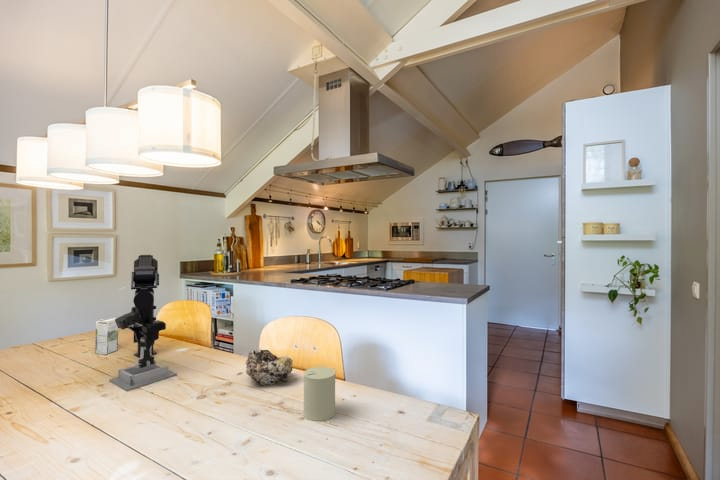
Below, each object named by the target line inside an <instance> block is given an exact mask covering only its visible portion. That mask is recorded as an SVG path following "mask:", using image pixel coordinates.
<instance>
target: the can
mask: <svg viewBox="0 0 720 480" xmlns="http://www.w3.org/2000/svg"><path fill="white" fill-rule="evenodd" d="M336 374H337V372H336V370H335V369H334V368H332V367H329V366H313V367H310V368H308V369H306V370H305V371H304V372H303V412H302V414H303V417H304V418H305V419H307V420H308V421H309V420H310V421H312V422H313V421H314V422H324V421H326V420H327V421H328V420H329V419H331V418H332V417H334V416H335V415H336V411H337V410H336Z"/></svg>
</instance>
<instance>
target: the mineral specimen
mask: <svg viewBox="0 0 720 480" xmlns="http://www.w3.org/2000/svg"><path fill="white" fill-rule="evenodd" d="M293 361H294V360H293V359H292V358H291V357H289V356H280V357H278V356H277V355H276V354H273V353H272V352H271V351H270V350H269V349H261V348H259V349H252V350H250V352H248V356H247V359H246V360H245V366H246V370H245V374H246V375H247V376H248V377H250V378H251V380H254V381H257V382H259V383H260V384H261V385H263V386H264V385H274V384H279V383H282V382H284V381H285V379H288V378H290V377H291V376H292V371H293V363H294V362H293Z"/></svg>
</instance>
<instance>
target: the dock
mask: <svg viewBox="0 0 720 480" xmlns="http://www.w3.org/2000/svg"><path fill="white" fill-rule="evenodd" d="M135 365H136V364H135ZM135 365H133V366H130V367H129V366H128V367H126V368H122V369H118V370H117V371H118V372H117V373H118V375H117V377H113V378H110V379H108V381H109V382H110V383H111V384H113V385H115V386H116V387H118V388H121V389H122V390H124V391H125V392H130V391H132V390H136V389H139V388H142V387H145V386H148V385H152V384H154V383H157V382H160V381H164V380H167V379H169V378H173V377H176V376H178V374H177V372H174V371H172V370H170V369H169V368H170V367H169V365H164V366H159V365H157V360H155V359H154V364H151V365H149V366H146V367H143V368H140V367H138V368H137V366H138V365H136V366H135ZM135 367H136V368H135Z"/></svg>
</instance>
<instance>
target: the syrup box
mask: <svg viewBox="0 0 720 480" xmlns="http://www.w3.org/2000/svg"><path fill="white" fill-rule="evenodd" d="M115 319H116V317H106V318H102V319H98V320H95V347H94V348H95V349H94V351H95V355H109V354H112V353H114V352H117V351H118V350H119V328H118V327H117V324H116V322H115Z"/></svg>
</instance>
